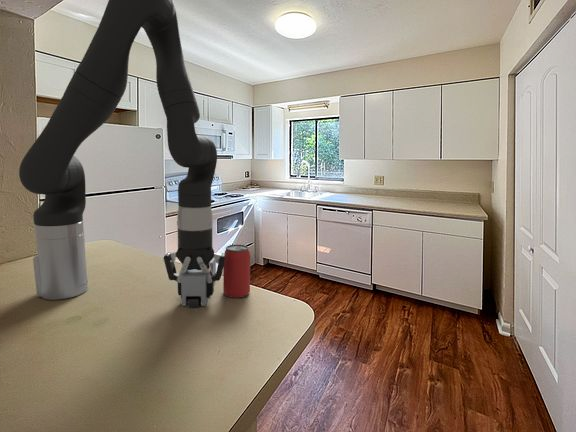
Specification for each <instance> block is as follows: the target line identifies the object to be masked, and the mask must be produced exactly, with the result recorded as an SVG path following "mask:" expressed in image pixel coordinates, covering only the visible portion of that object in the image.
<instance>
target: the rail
mask: <svg viewBox="0 0 576 432" xmlns="http://www.w3.org/2000/svg"><path fill="white" fill-rule="evenodd" d="M200 306H201V296H189V298H188V302H187V308H188V309H192V308H193V309H195V308H196V309H200Z"/></svg>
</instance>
